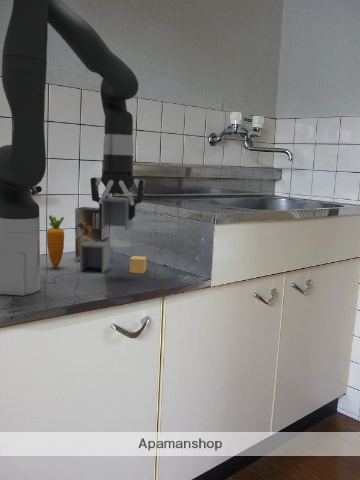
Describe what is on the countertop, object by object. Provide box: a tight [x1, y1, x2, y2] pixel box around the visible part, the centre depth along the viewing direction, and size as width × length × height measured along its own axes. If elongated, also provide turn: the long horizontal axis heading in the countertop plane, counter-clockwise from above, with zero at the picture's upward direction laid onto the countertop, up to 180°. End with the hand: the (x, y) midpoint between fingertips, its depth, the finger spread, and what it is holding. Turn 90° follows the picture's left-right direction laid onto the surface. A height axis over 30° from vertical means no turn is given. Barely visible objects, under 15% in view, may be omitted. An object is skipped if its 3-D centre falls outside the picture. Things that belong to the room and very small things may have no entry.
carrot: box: [46, 214, 65, 269], centre depth 137 cm, size 5×5×15 cm
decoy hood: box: [79, 241, 110, 274], centre depth 138 cm, size 6×6×8 cm
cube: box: [129, 255, 147, 274], centre depth 138 cm, size 4×4×4 cm
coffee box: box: [74, 206, 111, 262], centre depth 149 cm, size 9×6×16 cm
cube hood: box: [101, 196, 133, 231], centre depth 127 cm, size 6×6×8 cm
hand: (117, 218), depth 127 cm, fingers closed on cube hood, 6 cm apart
